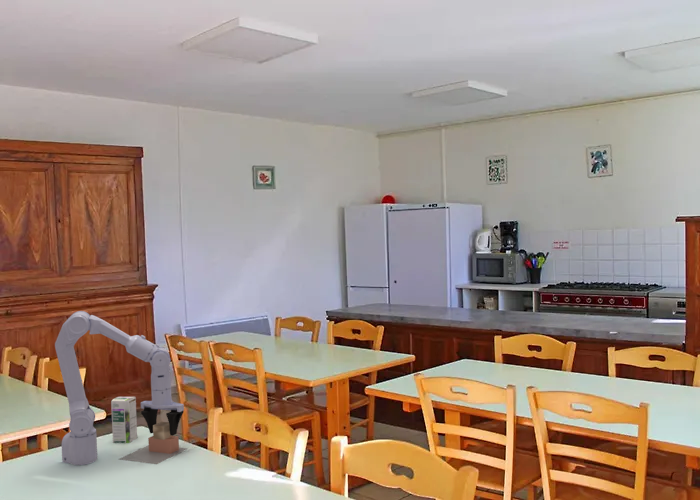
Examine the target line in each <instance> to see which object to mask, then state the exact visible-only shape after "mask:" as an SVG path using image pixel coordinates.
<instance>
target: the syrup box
mask: <svg viewBox="0 0 700 500" xmlns="http://www.w3.org/2000/svg"><path fill="white" fill-rule="evenodd" d="M136 401H137V398H136V396H117V397H115V398H113V399H112V400H111V402H110V408H111V421H112V422H111V425H112V426H111V427H112V443H113V444H130V443H132V442H133V441H135V440H136V439H137V438H138V428H137V427H138V426H137V425H138V424H137V422H138V421H137V402H136Z"/></svg>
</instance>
